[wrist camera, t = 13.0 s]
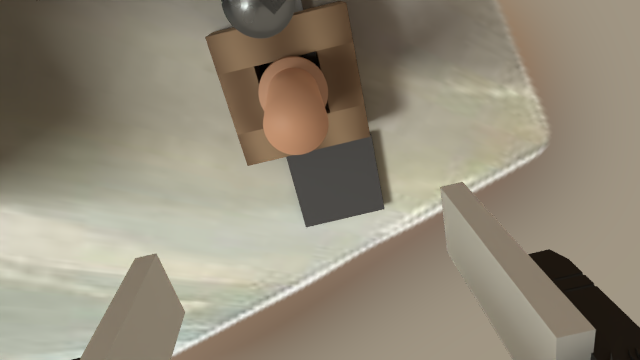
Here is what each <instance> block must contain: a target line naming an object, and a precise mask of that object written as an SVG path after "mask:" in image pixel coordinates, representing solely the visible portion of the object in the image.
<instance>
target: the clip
mask: <svg viewBox="0 0 640 360" xmlns="http://www.w3.org/2000/svg"><path fill="white" fill-rule="evenodd" d="M221 2H222V7H223V10H224V13H225V15H226V17H227V19H228V21H229V22H230V23H231V24H232V26H233V27H234V28H235V29H237V30H238V31H239V32H241V33H242V34H244V35H246V36H249V37H252V38H260V39H262V38H269V37H272V36H274V35H276V34H278V33H280V32H281V31H282V30H283V29H284V28H285V27H286V26H287V25H288V24H289V22H290V20H291V19H292V16H293V13H294V10H295V0H221Z"/></svg>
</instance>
